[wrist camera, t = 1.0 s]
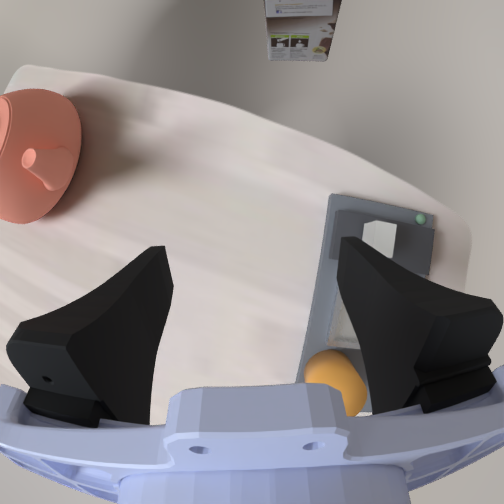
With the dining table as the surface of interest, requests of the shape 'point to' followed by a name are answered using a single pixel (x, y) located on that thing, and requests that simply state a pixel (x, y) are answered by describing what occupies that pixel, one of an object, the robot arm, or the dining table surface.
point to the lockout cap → (338, 378)
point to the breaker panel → (331, 283)
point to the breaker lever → (380, 236)
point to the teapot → (36, 152)
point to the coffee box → (300, 28)
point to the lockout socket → (340, 326)
